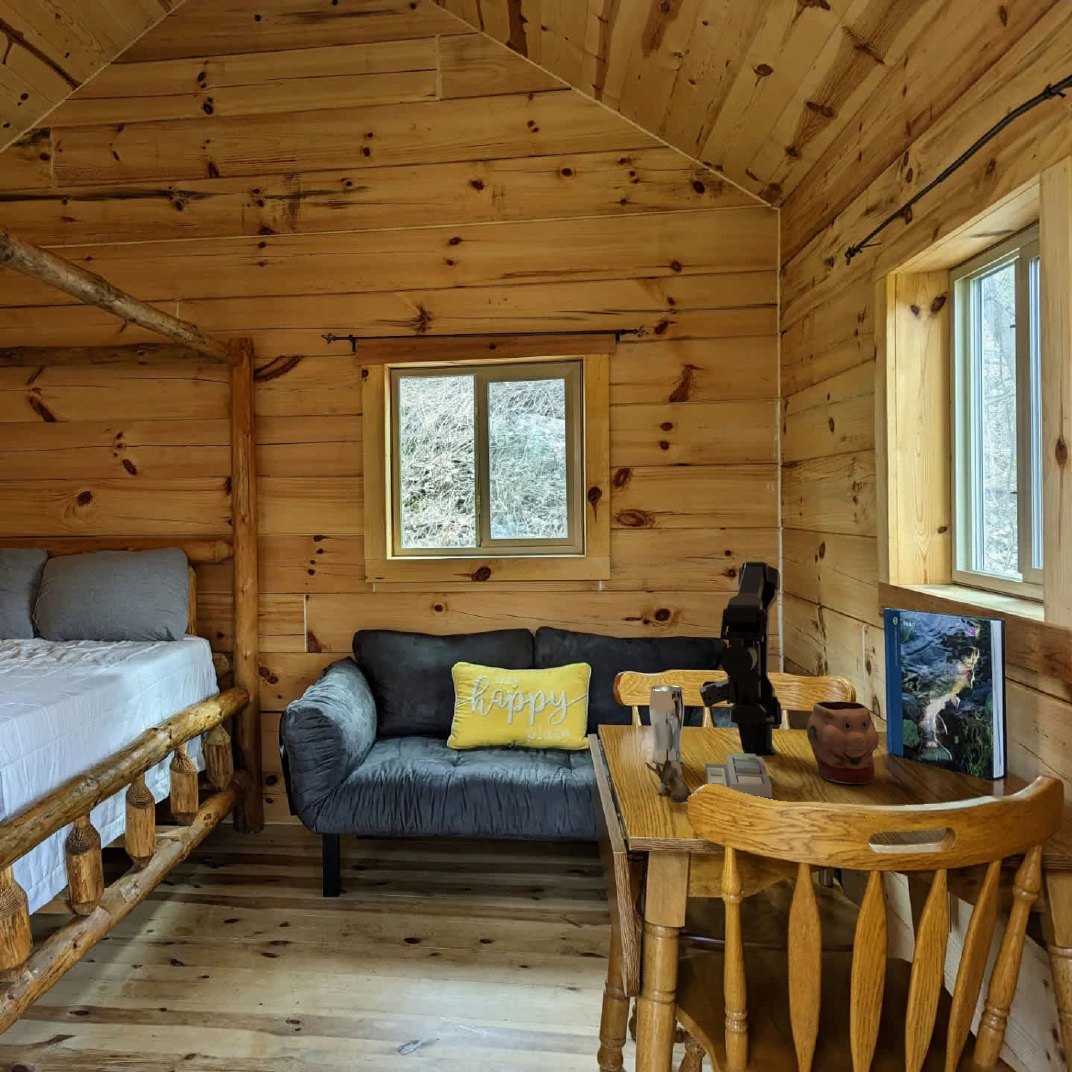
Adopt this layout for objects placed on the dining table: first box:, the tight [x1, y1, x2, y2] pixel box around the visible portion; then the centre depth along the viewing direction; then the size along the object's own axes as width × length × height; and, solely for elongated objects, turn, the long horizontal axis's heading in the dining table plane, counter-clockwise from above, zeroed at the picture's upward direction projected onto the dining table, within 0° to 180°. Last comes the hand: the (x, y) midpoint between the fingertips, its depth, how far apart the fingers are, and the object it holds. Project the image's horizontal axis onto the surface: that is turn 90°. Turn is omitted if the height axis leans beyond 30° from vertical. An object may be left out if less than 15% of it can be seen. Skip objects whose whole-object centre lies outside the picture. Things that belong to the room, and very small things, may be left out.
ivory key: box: [738, 776, 763, 784], centre depth 136 cm, size 4×4×2 cm
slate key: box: [736, 761, 760, 774], centre depth 142 cm, size 4×4×2 cm
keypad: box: [704, 755, 774, 800], centre depth 142 cm, size 19×11×3 cm, turn 169°
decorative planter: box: [806, 700, 880, 785], centre depth 148 cm, size 20×12×14 cm, turn 3°
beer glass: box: [649, 684, 685, 766], centre depth 158 cm, size 7×7×15 cm
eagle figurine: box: [644, 760, 692, 804], centre depth 138 cm, size 8×7×9 cm
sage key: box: [733, 752, 757, 764], centre depth 147 cm, size 4×4×2 cm
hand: (745, 750), depth 147 cm, fingers closed
